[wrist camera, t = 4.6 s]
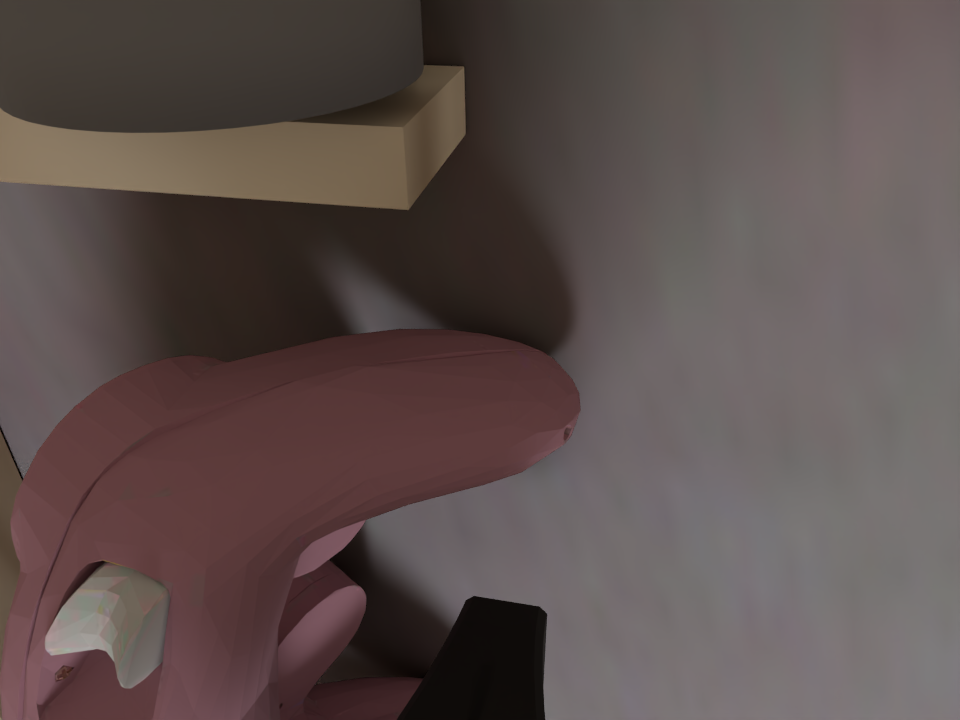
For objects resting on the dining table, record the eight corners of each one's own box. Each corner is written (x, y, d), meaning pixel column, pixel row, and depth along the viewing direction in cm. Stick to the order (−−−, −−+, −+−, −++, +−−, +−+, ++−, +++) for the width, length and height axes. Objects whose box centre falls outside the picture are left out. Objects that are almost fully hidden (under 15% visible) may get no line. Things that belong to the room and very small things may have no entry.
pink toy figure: (378, 222, 12) (-151, 398, 7) (625, 358, 10) (122, 724, 5) (338, 615, 18) (23, 862, 13) (493, 753, 16) (188, 1107, 11)
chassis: (460, -80, 8) (322, -37, 5) (480, 799, 18) (436, 1010, 15) (-415, -79, 11) (-905, -49, 7) (17, 702, 20) (-111, 868, 17)
